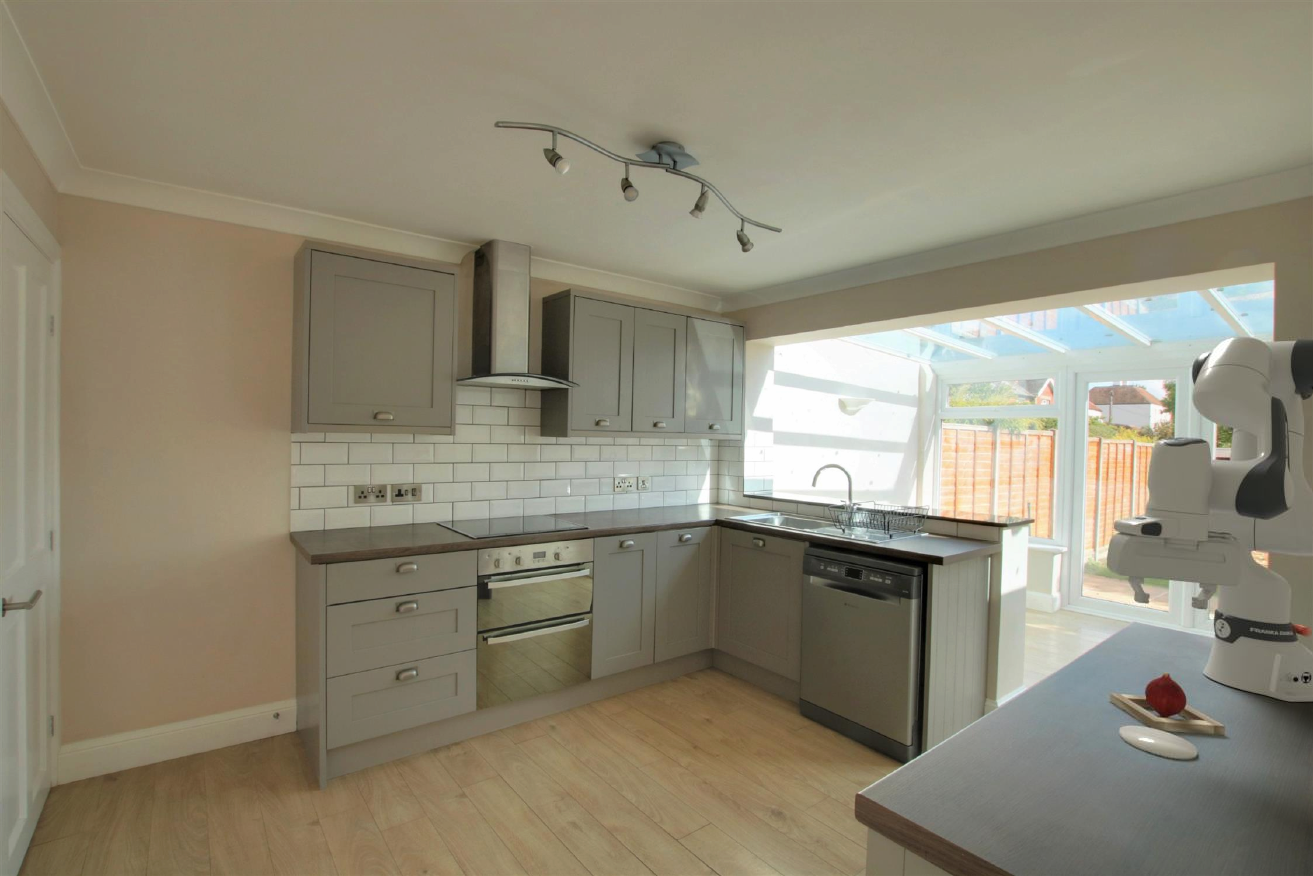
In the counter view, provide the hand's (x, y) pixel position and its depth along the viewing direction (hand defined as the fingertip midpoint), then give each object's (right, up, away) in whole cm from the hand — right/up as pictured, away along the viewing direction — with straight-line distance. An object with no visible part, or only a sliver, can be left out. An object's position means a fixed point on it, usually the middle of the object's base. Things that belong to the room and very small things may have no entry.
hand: (1170, 605), depth 113 cm
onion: (0, -21, +1) cm, 21 cm away
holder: (0, -20, +1) cm, 20 cm away
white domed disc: (-10, -20, -9) cm, 24 cm away
